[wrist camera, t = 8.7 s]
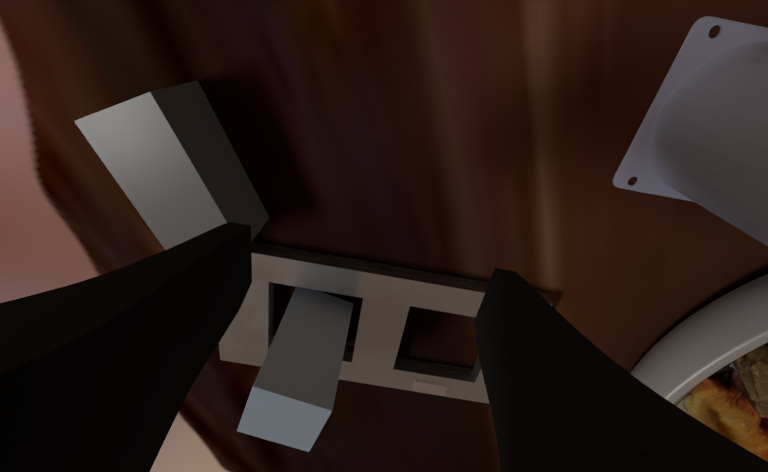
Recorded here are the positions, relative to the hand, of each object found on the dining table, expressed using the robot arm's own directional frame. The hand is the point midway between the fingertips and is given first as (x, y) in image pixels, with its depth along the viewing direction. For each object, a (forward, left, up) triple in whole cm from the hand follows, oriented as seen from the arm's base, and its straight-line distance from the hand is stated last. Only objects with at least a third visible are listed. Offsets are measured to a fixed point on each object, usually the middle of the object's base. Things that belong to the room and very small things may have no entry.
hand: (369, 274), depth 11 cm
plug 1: (+10, +2, -10) cm, 15 cm away
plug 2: (+3, +12, -10) cm, 16 cm away
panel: (-1, +12, -10) cm, 15 cm away
